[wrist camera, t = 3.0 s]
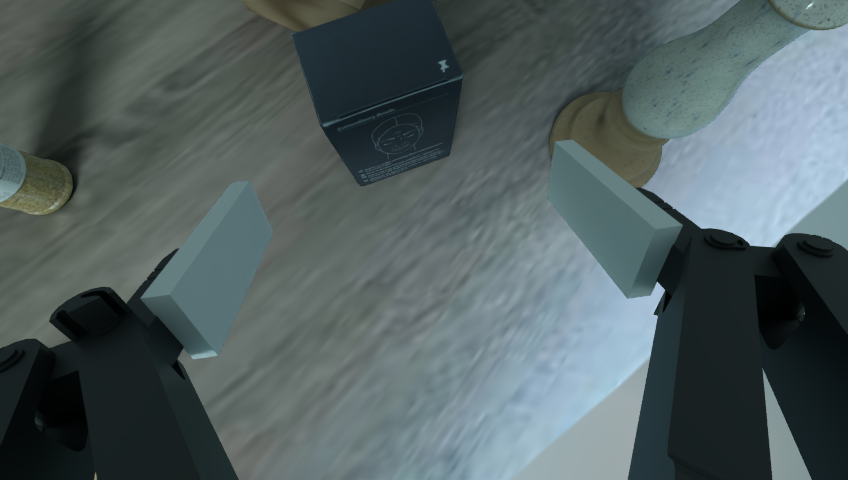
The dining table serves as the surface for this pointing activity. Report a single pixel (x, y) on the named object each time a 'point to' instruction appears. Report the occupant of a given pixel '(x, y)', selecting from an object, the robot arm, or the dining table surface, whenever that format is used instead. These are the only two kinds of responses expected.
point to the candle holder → (686, 83)
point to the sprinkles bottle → (32, 182)
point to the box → (383, 86)
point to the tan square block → (308, 10)
